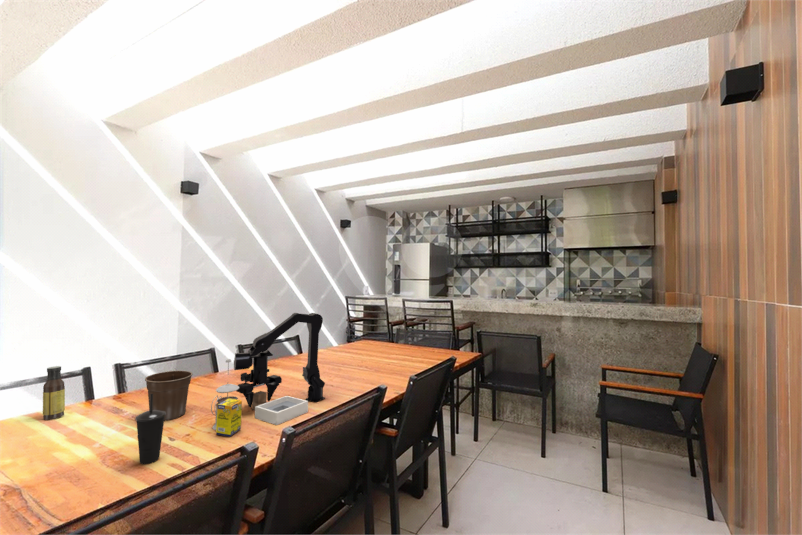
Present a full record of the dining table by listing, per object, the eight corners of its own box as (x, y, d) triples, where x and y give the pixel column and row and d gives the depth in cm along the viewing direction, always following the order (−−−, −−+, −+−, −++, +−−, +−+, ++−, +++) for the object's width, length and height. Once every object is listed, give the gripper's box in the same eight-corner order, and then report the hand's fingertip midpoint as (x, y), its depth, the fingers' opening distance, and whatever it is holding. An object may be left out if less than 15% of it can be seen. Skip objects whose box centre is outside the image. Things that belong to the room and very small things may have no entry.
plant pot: (197, 415, 143) (198, 375, 143) (149, 427, 131) (150, 383, 132) (184, 405, 154) (185, 368, 155) (139, 415, 142) (140, 375, 143)
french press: (246, 422, 137) (248, 357, 138) (222, 434, 126) (224, 363, 127) (227, 418, 140) (228, 355, 141) (201, 430, 129) (203, 361, 130)
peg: (260, 407, 153) (260, 390, 153) (266, 409, 151) (266, 392, 151) (252, 410, 149) (252, 393, 150) (258, 412, 147) (258, 395, 148)
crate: (286, 406, 154) (286, 395, 155) (307, 411, 148) (308, 401, 148) (254, 418, 141) (255, 406, 141) (276, 425, 134) (277, 413, 134)
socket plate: (286, 405, 153) (286, 400, 153) (305, 410, 148) (305, 405, 148) (257, 415, 141) (258, 411, 141) (277, 421, 135) (277, 417, 135)
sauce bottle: (67, 413, 144) (69, 364, 144) (59, 419, 138) (61, 368, 139) (47, 415, 142) (49, 365, 142) (37, 421, 136) (40, 369, 136)
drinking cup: (144, 454, 111) (146, 390, 112) (169, 453, 112) (171, 389, 112) (127, 467, 103) (130, 398, 104) (155, 466, 104) (157, 397, 105)
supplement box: (230, 437, 124) (231, 406, 123) (215, 434, 125) (216, 404, 125) (241, 429, 129) (242, 400, 129) (227, 427, 131) (228, 398, 130)
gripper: (266, 360, 163) (265, 394, 162) (228, 369, 147) (227, 407, 146) (282, 363, 157) (282, 399, 157) (245, 373, 141) (244, 412, 141)
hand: (259, 404), depth 150 cm, fingers open, 9 cm apart
